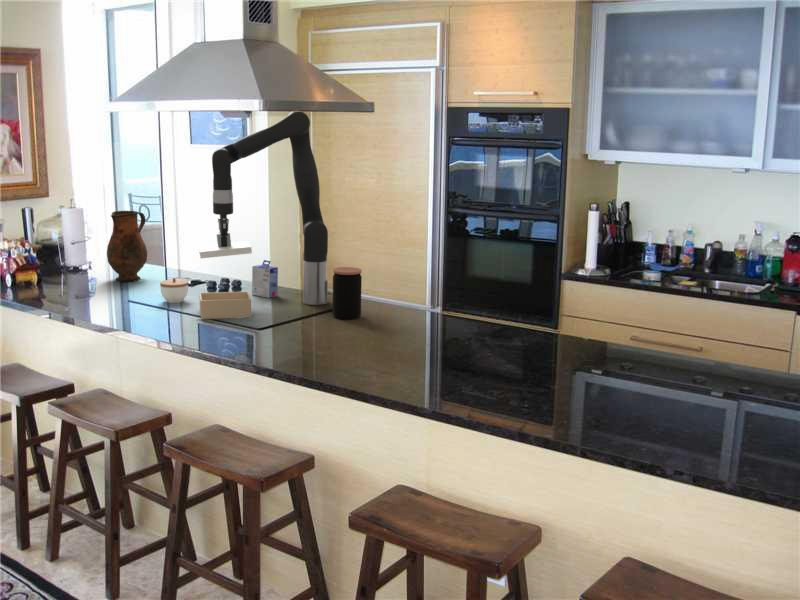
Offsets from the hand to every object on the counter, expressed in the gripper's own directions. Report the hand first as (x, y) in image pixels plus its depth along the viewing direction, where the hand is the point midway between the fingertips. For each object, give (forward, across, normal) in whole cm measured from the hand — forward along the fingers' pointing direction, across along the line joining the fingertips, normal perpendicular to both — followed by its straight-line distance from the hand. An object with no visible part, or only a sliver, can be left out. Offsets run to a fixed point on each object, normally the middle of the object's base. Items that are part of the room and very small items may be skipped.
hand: (223, 246), depth 314 cm
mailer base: (+23, -17, +1) cm, 29 cm away
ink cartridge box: (+23, +12, -17) cm, 31 cm away
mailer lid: (+3, 0, 0) cm, 3 cm away
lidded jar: (+23, +7, +19) cm, 31 cm away
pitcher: (+23, +54, +37) cm, 69 cm away
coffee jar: (+23, -28, -43) cm, 56 cm away
